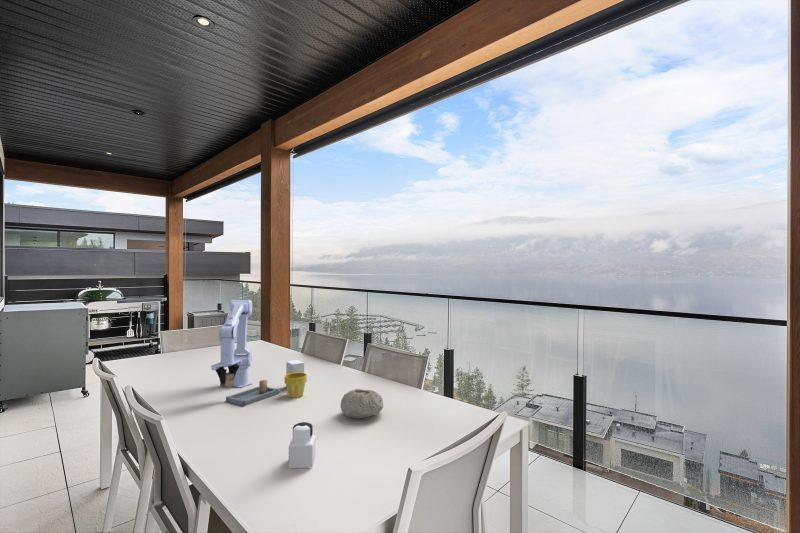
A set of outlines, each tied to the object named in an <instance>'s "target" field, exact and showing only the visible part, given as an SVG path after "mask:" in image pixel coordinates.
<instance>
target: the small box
mask: <svg viewBox="0 0 800 533" xmlns="http://www.w3.org/2000/svg"><path fill="white" fill-rule="evenodd" d="M285 371H286V373H285V375H287V374H290V373H298V372H300V373H305V362H304V361H301V360H299V359H294V360H293V359H292V360H286V370H285ZM285 387H286V388H287V386H286V385H285Z"/></svg>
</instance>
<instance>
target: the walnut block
mask: <svg viewBox="0 0 800 533" xmlns="http://www.w3.org/2000/svg"><path fill="white" fill-rule="evenodd" d="M219 386H220V387H221V388H223V389H224V388H225V389H228V388H230V387H234V374H233V373H229V371H228V372H226V376H225V384H221V383H219Z"/></svg>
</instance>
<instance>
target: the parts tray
mask: <svg viewBox="0 0 800 533" xmlns="http://www.w3.org/2000/svg"><path fill="white" fill-rule="evenodd" d="M279 393H280V389H279V388H274V387H269V386H267V393H264V394H260V393H259V386H256V387H252V388H249V389H246V390H243V391H240V392H238V393H235V394H231V395H229V396H226V397H225V402H227V403H230V404H233V403H234V405H237V404H238V405H237V406H241V405H242V406H241V407H247V406H249V405H252V404H255V403H257V402H260V401H262V400H265V399H267V398H271V397H274V396H276V395H279ZM254 402H255V403H254ZM246 405H247V406H246Z"/></svg>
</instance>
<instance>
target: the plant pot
mask: <svg viewBox="0 0 800 533" xmlns="http://www.w3.org/2000/svg"><path fill="white" fill-rule="evenodd" d="M307 380H308V375H307V373H306V372H304V373H300V372H298V373H290V374H287V375H286V374H285V375H284V384H285V387H286V386H287V387H286V391H287V395H288V397H289V398H293V399H296V398H301V397H303V396H304V391H305V387H306V382H308V381H307Z"/></svg>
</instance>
